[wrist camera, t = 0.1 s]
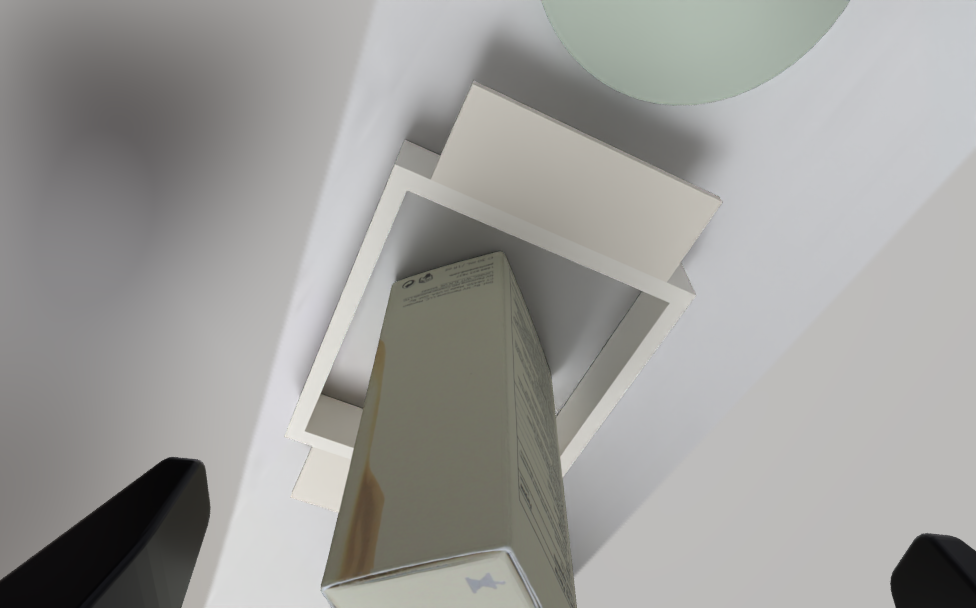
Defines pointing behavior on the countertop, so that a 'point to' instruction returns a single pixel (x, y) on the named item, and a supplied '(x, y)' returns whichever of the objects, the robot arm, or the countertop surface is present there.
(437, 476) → the skincare box
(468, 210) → the white rectangular tray
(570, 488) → the countertop surface
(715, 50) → the coaster
